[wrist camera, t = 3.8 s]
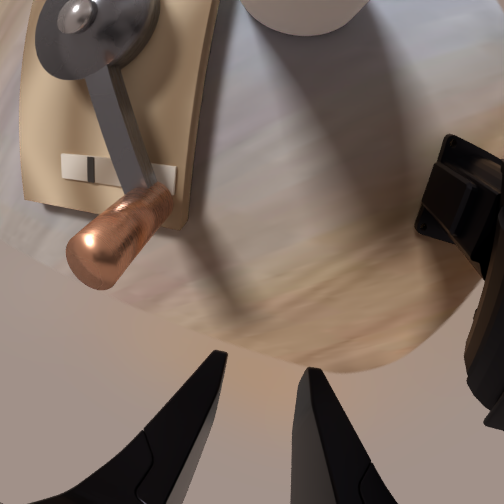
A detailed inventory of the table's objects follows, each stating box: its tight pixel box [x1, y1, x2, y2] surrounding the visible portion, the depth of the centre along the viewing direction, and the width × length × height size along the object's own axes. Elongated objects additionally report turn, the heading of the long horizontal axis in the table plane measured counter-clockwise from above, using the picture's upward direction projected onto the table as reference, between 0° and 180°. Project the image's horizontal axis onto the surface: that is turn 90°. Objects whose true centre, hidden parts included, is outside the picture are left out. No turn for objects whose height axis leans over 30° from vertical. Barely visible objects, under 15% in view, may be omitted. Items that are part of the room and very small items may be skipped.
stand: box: [19, 0, 220, 230], centre depth 14 cm, size 13×16×2 cm
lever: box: [35, 0, 173, 290], centre depth 10 cm, size 16×7×7 cm, turn 15°
